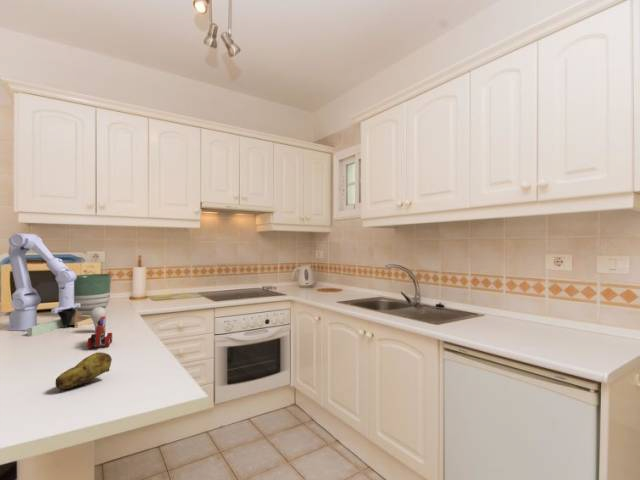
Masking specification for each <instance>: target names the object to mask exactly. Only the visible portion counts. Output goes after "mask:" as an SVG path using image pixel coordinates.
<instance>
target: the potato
mask: <svg viewBox="0 0 640 480" xmlns="http://www.w3.org/2000/svg"><path fill="white" fill-rule="evenodd" d="M112 360H113V359H112V357H111V354H109V353H106V352H100V351H99V352H95V353H92V354H91V355H89V356H86V357H85V358H83V359H82V360H80V362H78V363H77V364H76V365H74V367H70V368H69V369H67V370H66V371H63V372H62V373H61V374H60V375H58V376H57V377H56V378H55V387H56V388H57V389H59V390H63V389H64V390H68V389H71V388H75V387H78V385H79V386H82V384H83V385H86V384H87V383H89V382H91V381H92V380H94V379H95V378H97V377H99V376H101V375H103V374H104V373H107V372H110V368H111V365H112ZM74 386H75V387H74Z"/></svg>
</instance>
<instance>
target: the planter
mask: <svg viewBox="0 0 640 480" xmlns="http://www.w3.org/2000/svg"><path fill="white" fill-rule="evenodd" d="M111 283H112V275H111V274H110V273H109V274H108V273H96V274H95V273H92V274H91V273H89V274H77V279H76V280H75V281H74V304H75V303H81V307H79V308H73V309H77V311H78V312H82V315H90V313H91V311H92V310H93V309H94V308H97V307H102V308H104V309H105V310H106V308H107V307H108V305H109V302H110V296H111V286H112V285H111Z"/></svg>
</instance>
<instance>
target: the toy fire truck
mask: <svg viewBox="0 0 640 480" xmlns="http://www.w3.org/2000/svg"><path fill="white" fill-rule="evenodd" d="M106 318H107V316H106V317H101V318H100V319H99V321H98V322H97V324H98V326H97V330H96V331H95V330H94V331H95V333H92V334H91V336H90V337H88V339H87V345H86V347H87V349H88V350H91V349H93V348H94V347H102V345H103V346H104V348H109V347H110V344H112V342H113V332H107V335H106V331H107V330H106V329H107V328H106V322H107V321H106V320H107V319H106Z"/></svg>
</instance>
